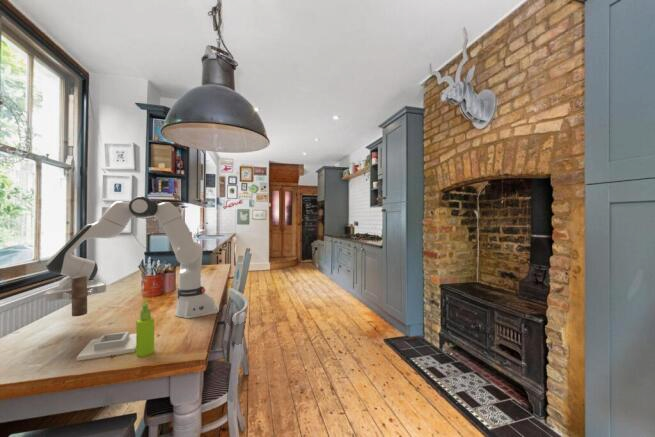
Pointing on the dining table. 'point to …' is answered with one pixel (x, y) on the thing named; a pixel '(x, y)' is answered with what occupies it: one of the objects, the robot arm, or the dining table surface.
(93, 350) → the stool seat
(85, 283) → the walnut leg
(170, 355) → the dining table surface
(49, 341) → the dining table surface
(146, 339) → the soap dispenser
